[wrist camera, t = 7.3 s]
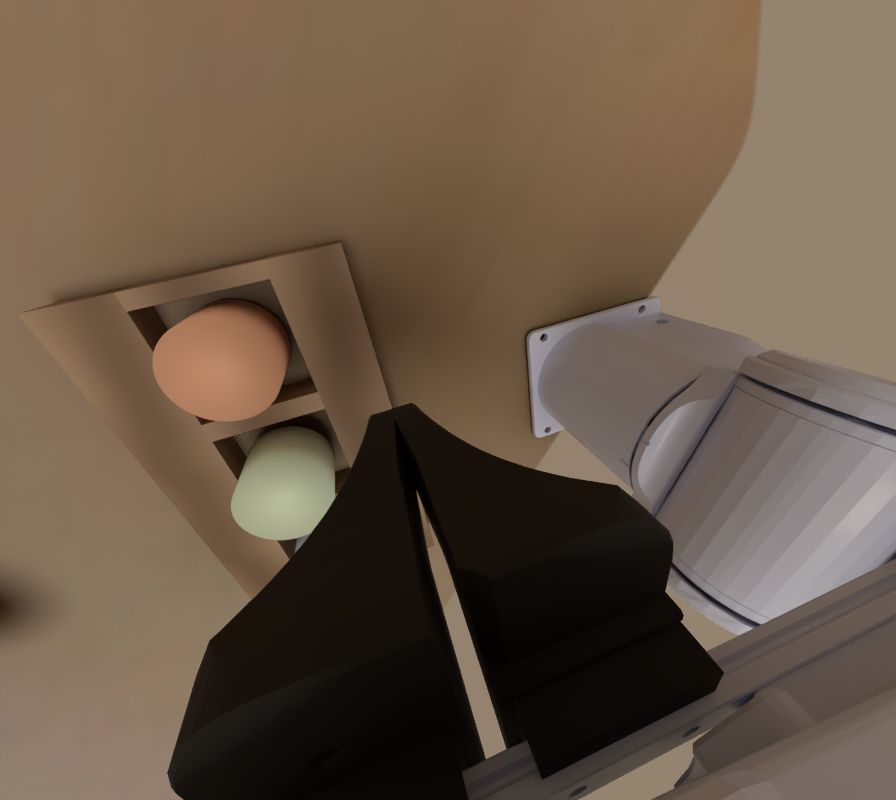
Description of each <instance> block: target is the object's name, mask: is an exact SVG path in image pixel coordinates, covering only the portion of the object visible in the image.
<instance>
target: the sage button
mask: <svg viewBox="0 0 896 800" xmlns="http://www.w3.org/2000/svg"><path fill="white" fill-rule="evenodd" d="M334 499H335V454H334V450H333V448H332V446H331V444H330V443H329V442H328V440H327V439H326V438H325V437H323V436H322V435H321V434H319V433H317V432H315V431H313V430H311V429H307V428H303V427H295V426H289V427H281V428H277V429H274V430H271V431H269V432H267V433H265V434H264V435H262V436H261V437H259V438H258V439H257V440H256V441H255V442H254V444H253V445H252V447H251V449H250V451H249V454H248V456H247V459H246V462H245V464H244V467H243V470H242V472H241V475H240V478H239V480H238V483H237V486H236V489H235V491H234V494H233V497H232V500H231V511H232V515H233V517H234V519H235V521H236V522H237V523H238V525H239V526H240V527H242V528H243V529H244V530H245V531H247V532H248V533H250V534H252V535H255V536H257V537H260V538H264V539H270V540H289V539H295V538H299V537H303V536H305V535H308V534H310V533H311V532H312V531H313V530H314V528H315V527H316V526H317V524H318V523H319V522H320V520H321V519H322V518H323V516H324V515H325V513H326V512H327V510H328V509H329V507H330V506H331V504H332V502H333V501H334Z"/></svg>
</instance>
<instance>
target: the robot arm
mask: <svg viewBox="0 0 896 800" xmlns="http://www.w3.org/2000/svg"><path fill="white" fill-rule="evenodd" d="M640 306H641V308H640ZM639 308H640V310H639ZM660 308H661V300H660V298H658V297H649V298H646V299H642V300H639V301H635V302H632V303H628V304H625V305H621V306H618V307H614V308H611V309H607V310H604V311H600V312H597V313H593V314H590V315H586V316H583V317H579V318H576V319H572V320H569V321H565V322H562V323H558V324H555V325H551V326H548V327H544V328H541V329H537V330H534V331H531V332H530V333H529V334H528V336H527V339H526V342H527V357H528V371H529V385H530V400H531V414H532V429H533V434H534V435H535V436H536V437H538V438H541V437H544V436H547V435H550V434H553V433H556V432H559V431H562V430H565V429H566V430H567V431H568V432H569V433H570V434H572V435H573V436H574V437H575V438H576V439H577V440H578V441H579V442H580V443H582V444H583V445H584V446H585V447H586V448H587V449H588V450H589V451H590V452H591V453H593V454H594V455H595V456H596V457H597V458H598V459H599V460H600V461H602V463H604V464H605V465H606V466H607V467H608V468H609V469H610V470H611V471H613V472H614V473H615V474H616V475H617V476H618V477H619V478H620V479H621V480H622V481H624V482H625V483H626V484H627V485H628V486H629V487H630V488H631V489H632V490H633V495H632V497H631V496H630V495H629V494H627V493H626V492H625V491H624V490H622V489H621V488H620V487H619V486H617V485H611V484H605V483H599V482H593V481H587V480H580V479H574V478H568V477H564V476H559V475H555V474H551V473H546V472H542V471H539V470H535V469H531V468H528V467H524V466H521V465H518V464H515V463H512V462H509V461H507V460H504V459H501V458H498V457H496V456H493V455H491V454H489V453H486V452H484V451H482V450H480V449H478V448H476V447H474V446H472V445H470V444H468V443H466V442H465V441H463V440H461V439H460V438H458V437H456V436H455V435H453V434H452V433H450V432H448V431H447V430H446V429H444V428H443V427H441V426H440V425H438V424H437V423H436V422H434V421H433V420H432V419H431V418H429V417H428V416H427V415H426V414H424V413H423V412H422V411H421V410H420V409H419V408H418V407H417V406H416V405H414V404H412V403H410V404H406V405H403V406H400V407H396V408H393V409H390V410H387V411H383V412H380V413H377V414H373V415H371V416H370V418H369V420H368V424H367V428H366V431H365V434H364V437H363V440H362V443H361V446H360V448H359V451H358V453H357V456H356V458H355V461H354V463H353V465H352V467H351V469H350V471H349V473H348V475H347V477H346V479H345V481H344V483H343V485H342V487H341V489H340V491H339V492H338V494H337V496H336V498H335V499H334V501H333V502H332V504H331V506H330V507H329V509H328V510H327V512H326V513H325V515H324V516H323V518H322V519H321V520H320V522H319V523H318V524H317V526H316V527H315V528H314V530H313V531H312V532H311V534H310V535H309V536H308V538H307V539H306V540H305V542H304V543H303V544H302V545H301V547H300V548H299V549H298V550H297V551H296V553H295V554H294V555H293V556H292V557H291V558H290V560H289V561H288V562H287V563H286V564H285V565H284V566H283V568H282V569H281V570H280V571H279V572H278V573H277V574H276V575H275V576H274V577H273V579H272V580H271V581H270V582H269V583H268V584H267V585H266V586H265V587H264V588H263V589H262V590H261V591H260V592H259V593H258V594H257V595H256V596H255V597H254V598H253V599H252V600H251V601H250V602H249V603H248V604H247V605H246V606H245V607H244V608H243V609H242V610H241V611H240V612H239V613H238V614H237V615H236V616H235V617H234V618H233V619H232V620H231V621H230V622H229V623H228V624H227V625H226V626H225V627H224V628H223V629H222V630H221V631H220V632H218V633H217V634H216V635H215V636H214V637H213V638H212V639H211V640H210V641H209V644H208V646H207V649H206V652H205V654H204V657H203V660H202V662H201V665H200V668H199V670H198V673H197V676H196V679H195V682H194V686H193V689H192V692H191V696H190V699H189V702H188V706H187V709H186V712H185V716H184V719H183V722H182V726H181V729H180V732H179V736H178V739H177V742H176V746H175V749H174V752H173V756H172V759H171V762H170V766H169V769H168V772H167V773H168V777H169V781H170V784H171V788H172V789H173V790H174V791H175V793H176V794H177V795H179V796H180V797H181V798H182V799H184V800H578V799H580V798H582V797H584V796H586V795H588V794H589V793H591V792H593V791H595V790H597V789H599V788H601V787H603V786H604V785H606V784H608V783H610V782H612V781H614V780H616V779H618V778H619V777H621V776H623V775H625V774H627V773H629V772H631V771H632V770H634V769H636V768H638V767H640V766H642V765H644V764H646V763H648V762H649V761H651V760H653V759H655V758H657V757H659V756H661V755H663V754H664V753H666V752H668V751H670V750H672V749H674V748H676V747H677V746H679V745H681V744H683V743H685V742H687V741H689V740H691V739H693V738H694V737H696V736H698V735H700V734H702V733H704V732H706V731H708V730H709V729H711V728H712V729H711V730H710V731H708V732H707V733H706V734H704V735H703V736H702V737H700V738H699V739H698V740H696V741H695V742H694V743H693V754H694V757H693V760H692V762H691V764H690V766H689V768H688V769H687V771H685V773H684V774H683V775H682V776H681V777H680V779H679V780H678V781H677V782H676V783H675V786H674V787H675V788H674V789H673V790H670V791H668V792H666V793H664V794H662V795H660V796H658V797H656V798H654V799H652V800H896V382H893V381H889V380H886V379H882V378H879V377H876V376H872V375H868V374H864V373H861V372H858V371H854V370H851V369H847V368H843V367H840V366H836V365H832V364H829V363H825V362H821V361H817V360H814V359H810V358H806V357H803V356H799V355H794V354H791V353H787V352H783V351H778V350H769V351H766V350H765V349H764V348H763V347H762V346H760V345H759V344H757V343H756V342H754V341H753V340H751V339H749V338H747V337H744V336H741V335H738V334H734V333H731V332H727V331H724V330H720V329H717V328H713V327H710V326H706V325H703V324H699V323H696V322H692V321H688V320H685V319H681V318H678V317H674V316H671V315H667V314H664V313H660ZM638 310H639V311H638ZM542 334H544V338H543V339H542V340H540V337H541V335H542ZM547 427H548V428H547ZM546 428H547V429H546ZM545 429H546V430H545ZM416 490H417V491H416ZM417 493H418V495H419V497H420V500H421V502H422V504H423V507H424V509H425V511H426V514H427V516H428V518H429V521H430V523H431V525H432V528H433V530H434V532H435V535H436V537H437V539H438V542H439V544H440V546H441V549H442V551H443V554H444V556H445V559H446V562H447V564H448V567H449V570H450V573H451V576H452V580H453V583H454V586H455V589H456V592H457V595H458V598H459V601H460V604H461V608H462V610H463V614H464V617H465V620H466V623H467V626H468V629H469V632H470V635H471V639H472V642H473V645H474V648H475V651H476V654H477V658H478V661H479V664H480V667H481V670H482V673H483V676H484V679H485V682H486V686H487V689H488V692H489V695H490V698H491V701H492V705H493V707H494V710H495V714H496V717H497V720H498V723H499V726H500V730H501V733H502V736H503V739H504V742H505V745H506V748H507V749H506V750H504V751H502V752H500V753H498V754H496V755H494V756H492V757H490V758H488V759H486V758H485V755H484V751H483V748H482V744H481V741H480V737H479V734H478V730H477V727H476V724H475V720H474V717H473V714H472V710H471V706H470V703H469V699H468V696H467V693H466V689H465V685H464V682H463V679H462V675H461V671H460V668H459V664H458V661H457V658H456V654H455V651H454V647H453V644H452V640H451V637H450V633H449V630H448V626H447V623H446V619H445V616H444V612H443V608H442V605H441V601H440V598H439V594H438V591H437V587H436V584H435V580H434V577H433V573H432V569H431V565H430V560H429V556H428V551H427V545H426V540H425V534H424V529H423V523H422V518H421V512H420V507H419V502H418V496H417ZM667 583H668V585H669V586H670V587H671V588H672V589H673V590H674V591H675V592H676V593H677V594H678V595H679V596H680V597H681V598H682V599H683V600H685V601H686V602H687V603H688V604H689V605H690V606H692V607H693V608H694V609H696V610H697V611H698V612H699V613H701V614H702V615H704V616H705V617H706V618H708V619H709V620H711V621H712V622H714V623H716V624H717V625H719V626H721V627H723V628H724V629H726V630H728V631H730V632H732V633H734V634H736V635H739V636H737V637H735V638H733V639H731V640H729V641H727V642H725V643H723V644H721V645H719V646H717V647H715V648H713V649H711V650H708V651H705V649H704V648H703V647H702V646H701V645H700V644H699V642H698V641H697V640H696V639H695V638H694V637H693V636H692V634H691V633H690V632H689V631H688V630H687V629H686V627H685V626H684V625H683V624H682V623H681V622H680V621H681V620H683V616H684V615H683V613H682V611H681V609H680V608H679V607H678V606H677V605H676V603H675V602H674V601H673V600H672V599H671V598H670V597H669V595H668V594H667V593H666V592H665V590H666V586H667ZM713 727H714V728H713Z"/></svg>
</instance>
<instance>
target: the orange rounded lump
mask: <svg viewBox="0 0 896 800" xmlns="http://www.w3.org/2000/svg"><path fill="white" fill-rule="evenodd" d="M290 357H291V344H290V339H289V337H288V334H287V332H286V330H285V328H284V327H283V325H282V324H281V323H280V322H279V320H278V319H277V318H276V317H275V316H274V315H272V314H271V313H270V312H268V311H267V310H265V309H264V308H262V307H260V306H258V305H256V304H253V303H250V302H247V301H242V300H221V301H216V302H213V303H210V304H208V305H206V306H204V307H203V308H201V309H200V310H198V311H197V312H195V313H194V314H192V315H191V316H189V317H188V318H186V319H185V320H183V321H181V322H180V323H178V324H177V325H175V326H174V327H172V328H171V329H169V330H168V331H167V332H166V333H165V334H164V335H163V336H162V337H161V338H160V340H159V341H158V343H157V345H156V347H155V349H154V353H153V359H152V365H153V372H154V376H155V378H156V381H157V383H158V385H159V386H160V388H161V389H162V391H163V392H164V393H165V395H166V396H167V397H168V398H169V399H170V400H171V401H172V402H174V403H175V404H176V405H177V406H179V407H180V408H182V409H183V410H185V411H187V412H189V413H191V414H193V415H196V416H198V417H201V418H205V419H208V420H214V421H223V422H229V421H240V420H244V419H248V418H251V417H254V416H256V415H258V414H260V413H261V412H263V411H264V410H266V409H267V408H268V407H269V406H270V405H271V404H272V403H273V402H274V400H275V399H276V397H277V396H278V393H279V391H280V388H281V385H282V382H283V379H284V376H285V373H286V370H287V367H288V364H289V361H290Z"/></svg>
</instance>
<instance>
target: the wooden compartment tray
mask: <svg viewBox="0 0 896 800" xmlns="http://www.w3.org/2000/svg"><path fill="white" fill-rule="evenodd" d="M267 279H270V280H271V283H272V285H273V287H274V290H275V292H276V294H277V297H278V299H279V302H280V304H281V306H282V309H283V311H284V313H285V316H286V318H287V320H288V323H289V325H290V327H291V330H292V332H293V335H294V337H295V339H296V342H297V344H298V346H299V349H300V351H301V353H302V356H303V358H304V360H305V363H306V365H307V367H308V370H309V372H310V375H311V377H312V379H309V380H305V381H302V382H298V383H294V384H291V385H287V386H284V387H281V388H280V391H279V393H278V396H277V397H276V399H275V400H274V402H273V403H272V404H271V405H270V406H269V407H268V408H267V409H266V410H264V411H263V412H261V413H260V414H258V415H256V416H254V417H251V418H248V419H244V420H240V421H229V422H223V421H214V420H208V419H205V418H201V417H198V416H196V415H193V414H191V413H189V412H187V411H185V410H183V409H182V408H180V407H179V406H177V405H176V404H175V403H174V402H172V401H171V400H170V399H169V398H168V397H167V396H166V395H165V393H164V392H163V391H162V389H161V388H160V386H159V385H158V383H157V381H156V378H155V376H154V372H153V365H152V359H153V353H154V349H155V347H156V345H157V343H158V341H159V340H160V338H161V337H162V336H163V335H164V334H165V333H166V332H167V331H168V330H167V329H166V327H165V325H164V324H163V322H162V320H161V319H160V317H159V316H158V314H157V312H156V311H155V309H154V307H153V306H154V305H158V304H163V303H167V302H171V301H176V300H180V299H184V298H189V297H193V296H198V295H202V294H206V293H211V292H215V291H219V290H224V289H228V288H232V287H237V286H241V285H246V284H250V283H254V282H259V281H263V280H267ZM18 315H19V317H20V318H21V319H22V320H23V322H24V323H25V324H26V325H27V326H28V328H29V329H30V330H31V331H32V332H33V334H34V335H35V336H36V337H37V339H38V340H39V341H40V342H41V343H42V345H43V346H44V347H45V348H46V350H47V351H48V352H49V353H50V354H51V356H52V357H53V358H54V359H55V360H56V362H57V363H58V364H59V365H60V367H61V368H62V369H63V370H64V371H65V373H66V374H67V375H68V376H69V377H70V379H71V380H72V381H73V382H74V384H75V385H76V386H77V387H78V388H79V390H80V391H81V392H82V393H83V395H84V396H85V397H86V398H87V399H88V401H89V402H90V403H91V404H92V405H93V407H94V408H95V409H96V410H97V412H98V413H99V414H100V415H101V416H102V418H103V419H104V420H105V421H106V423H107V424H108V425H109V426H110V427H111V429H112V430H113V431H114V432H115V433H116V435H117V436H118V437H119V438H120V440H121V441H122V442H123V443H124V444H125V446H126V447H127V448H128V449H129V451H130V452H131V453H132V454H133V455H134V457H135V458H136V459H137V460H138V461H139V463H140V464H141V465H142V466H143V468H144V469H145V470H146V471H147V472H148V474H149V475H150V476H151V477H152V479H153V480H154V481H155V482H156V483H157V485H158V486H159V487H160V488H161V489H162V491H163V492H164V493H165V494H166V496H167V497H168V498H169V499H170V500H171V502H172V503H173V504H174V505H175V507H176V508H177V509H178V510H179V511H180V513H181V514H182V515H183V516H184V517H185V519H186V520H187V521H188V522H189V524H190V525H191V526H192V527H193V528H194V530H195V531H196V532H197V533H198V535H199V536H200V537H201V538H202V539H203V541H204V542H205V543H206V544H207V545H208V547H209V548H210V549H211V550H212V552H213V553H214V554H215V555H216V556H217V558H218V559H219V560H220V561H221V563H222V564H223V565H224V566H225V567H226V569H227V570H228V571H229V572H230V573H231V575H232V576H233V577H234V578H235V580H236V581H237V582H238V583H239V584H240V586H241V587H242V588H243V589H244V591H245V592H246V593H247V594H248V595H249V597H250V598H251V599H253V598H254V597H255V596H256V595H257V594H258V593H259V592H260V591H261V590H262V589H263V588H264V587H265V586H266V585H267V584H268V583H269V582H270V581H271V580H272V579H273V577H274V576H275V575H276V574H277V573H278V572H279V571H280V570H281V569H282V568H283V566H284V565H285V564H286V563H287V562H288V561H289V560H290V558H291V557H292V556H293V555H294V554H295V548H296V539H289V540H270V539H264V538H260V537H257V536H255V535H252V534H250V533H248V532H247V531H245V530H244V529H243V528H242V527H240V526H239V525H238V523H237V522H236V521H235V519H234V517H233V515H232V511H231V500H232V497H233V494H234V491H235V489H236V486H237V483H238V480H239V478H240V475H241V472H242V470H243V467H244V464H245V462H246V457H245V456H244V454H243V452H242V451H241V449H240V448H239V446H238V444H237V443H236V441H235V439H234V438H233V436H234V435H237V434H241V433H244V432H248V431H251V430H254V429H258V428H261V427H265V426H268V425H271V424H275V423H278V422H282V421H285V420H288V419H292V418H295V417H299V416H302V415H305V414H309V413H312V412H316V411H319V410H322V409H325V410H326V412H327V415H328V417H329V419H330V422H331V424H332V426H333V429H334V431H335V433H336V436H337V438H338V440H339V443H340V445H341V447H342V450H343V452H344V455H345V457H346V459H347V462H348V464H349V466H350V468H349V469H345V470H342V471H339V472H336V473H335V498H336V496H337V494H338V492H339V491H340V489H341V487H342V485H343V483H344V481H345V479H346V477H347V475H348V473H349V471H350V469H351V467H352V465H353V463H354V461H355V458H356V456H357V453H358V451H359V448H360V446H361V443H362V440H363V437H364V434H365V431H366V428H367V424H368V420H369V418H370V416H371V415H373V414H377V413H380V412H383V411H387V410H390V409H392V406H391V403H390V399H389V396H388V393H387V390H386V386H385V383H384V380H383V377H382V374H381V370H380V367H379V364H378V361H377V357H376V354H375V351H374V348H373V344H372V341H371V338H370V335H369V331H368V328H367V325H366V322H365V318H364V315H363V312H362V309H361V305H360V302H359V299H358V296H357V293H356V289H355V286H354V283H353V280H352V276H351V273H350V270H349V267H348V263H347V260H346V257H345V254H344V250H343V247H342V244H341V241H336V242H331V243H326V244H322V245H317V246H313V247H308V248H304V249H299V250H294V251H290V252H285V253H281V254H276V255H272V256H267V257H262V258H258V259H253V260H249V261H244V262H240V263H235V264H230V265H226V266H221V267H217V268H212V269H208V270H203V271H198V272H194V273H189V274H185V275H180V276H176V277H171V278H167V279H162V280H157V281H153V282H148V283H144V284H139V285H135V286H130V287H125V288H121V289H116V290H112V291H107V292H103V293H98V294H93V295H89V296H84V297H80V298H75V299H71V300H66V301H61V302H57V303H53V304H50V305H46V306H43V307H39V308H36V309H32V310H29V311H26V312H22V313H19V314H18ZM416 491H417V490H416ZM417 496H418V502H419V507H420V512H421V518H422V523H423V529H424V534H425V540H426V545H427V548H428V547H431V546H434V542H433V539H432V536H431V532H430V529H429V526H428V523H427V519H426V516H425V513H424V510H423V506H422V503H421V500H420V497H419V495H418V493H417Z"/></svg>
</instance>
